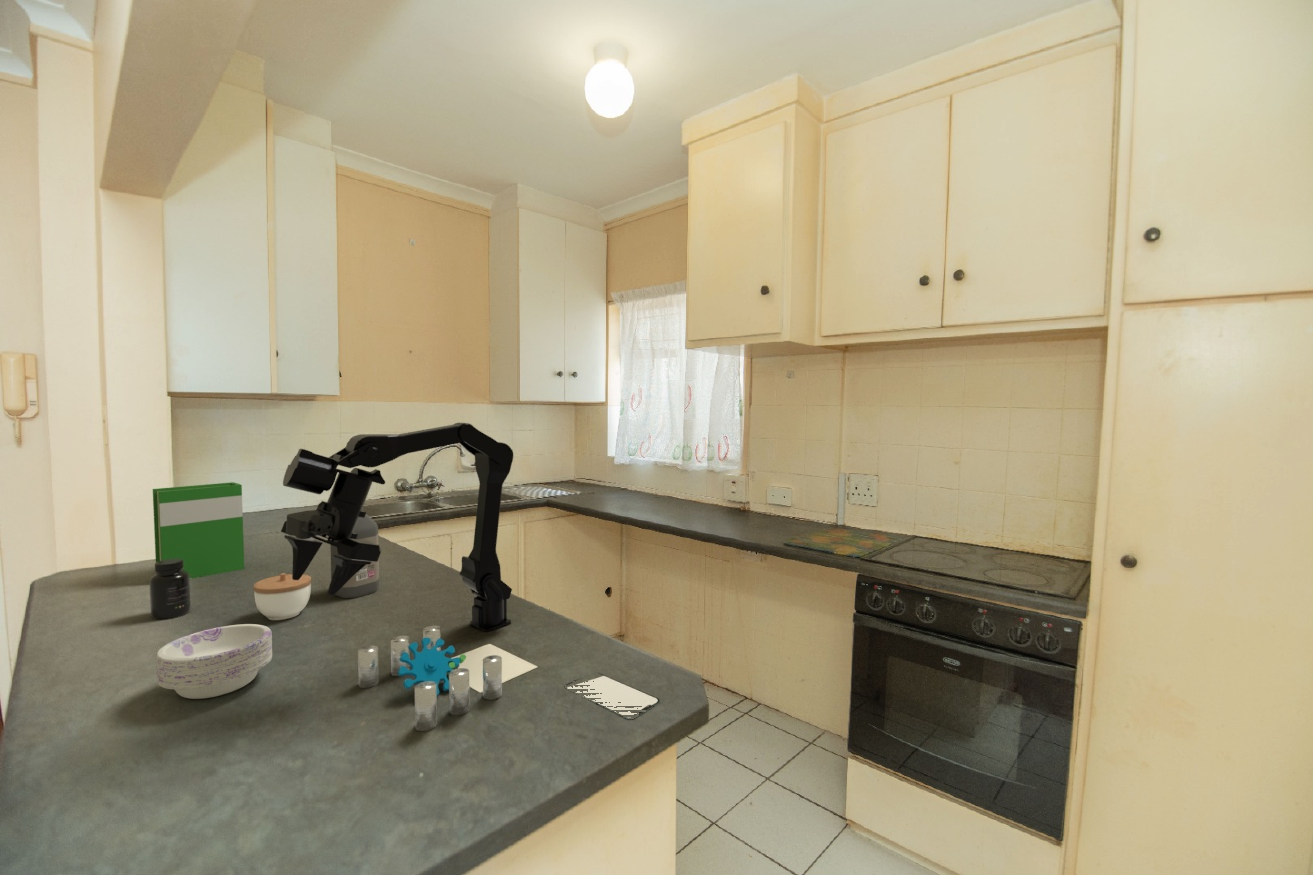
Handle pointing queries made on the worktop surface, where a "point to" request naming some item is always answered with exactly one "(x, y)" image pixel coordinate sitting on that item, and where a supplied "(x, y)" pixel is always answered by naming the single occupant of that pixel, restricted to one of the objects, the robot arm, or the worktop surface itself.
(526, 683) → the worktop surface
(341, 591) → the liquor
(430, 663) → the gear
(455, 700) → the posts
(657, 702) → the smartphone
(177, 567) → the supplement bottle
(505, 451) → the robot arm
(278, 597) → the lidded jar
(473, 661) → the pad
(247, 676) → the paper bowls
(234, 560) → the hardback book
